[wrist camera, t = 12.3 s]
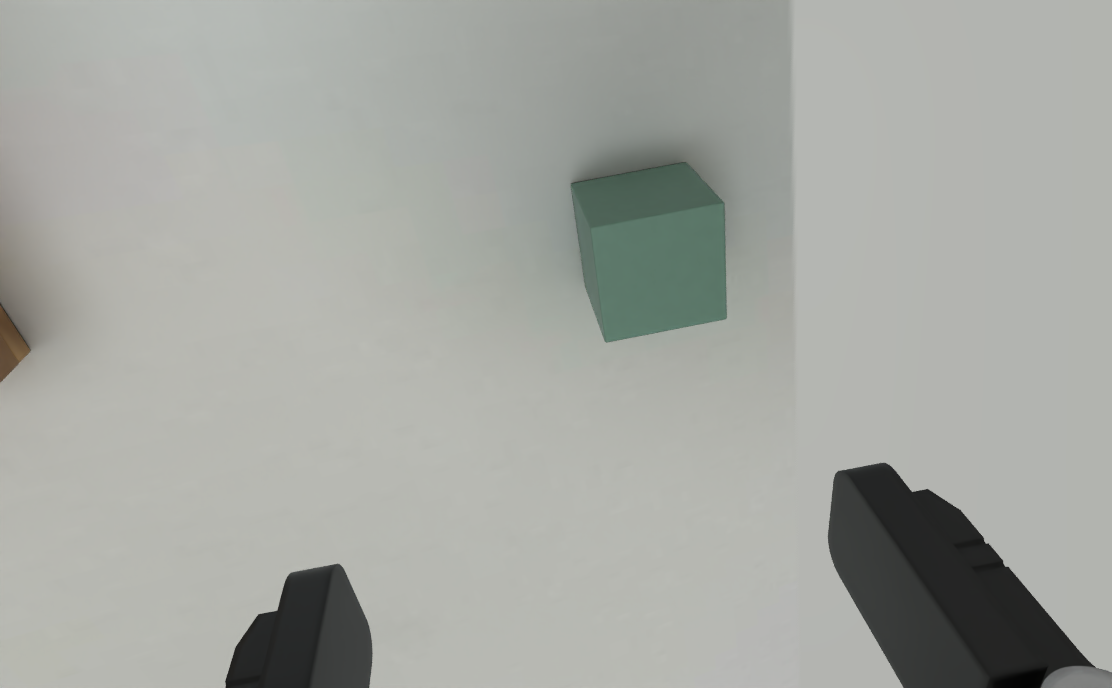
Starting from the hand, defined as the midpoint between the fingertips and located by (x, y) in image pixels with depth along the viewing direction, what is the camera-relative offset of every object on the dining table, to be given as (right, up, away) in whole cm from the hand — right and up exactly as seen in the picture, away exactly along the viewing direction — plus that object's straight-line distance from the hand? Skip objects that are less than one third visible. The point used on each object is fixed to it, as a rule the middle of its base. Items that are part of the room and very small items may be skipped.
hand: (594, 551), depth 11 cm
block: (+3, +8, +17) cm, 19 cm away
